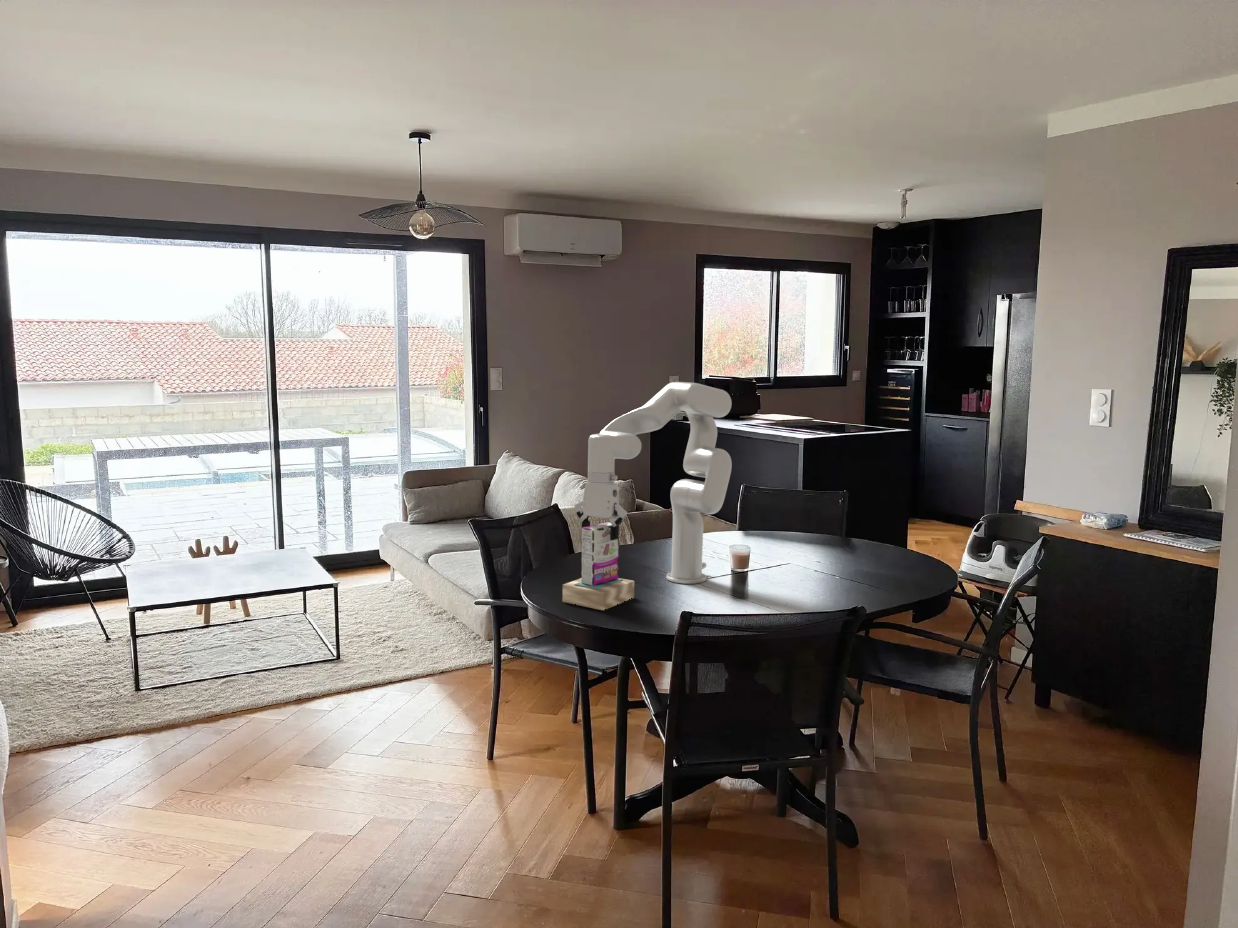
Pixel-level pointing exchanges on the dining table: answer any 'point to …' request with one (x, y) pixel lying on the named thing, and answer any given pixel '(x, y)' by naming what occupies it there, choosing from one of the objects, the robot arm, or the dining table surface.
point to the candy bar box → (599, 555)
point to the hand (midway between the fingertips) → (599, 537)
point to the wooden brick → (598, 593)
